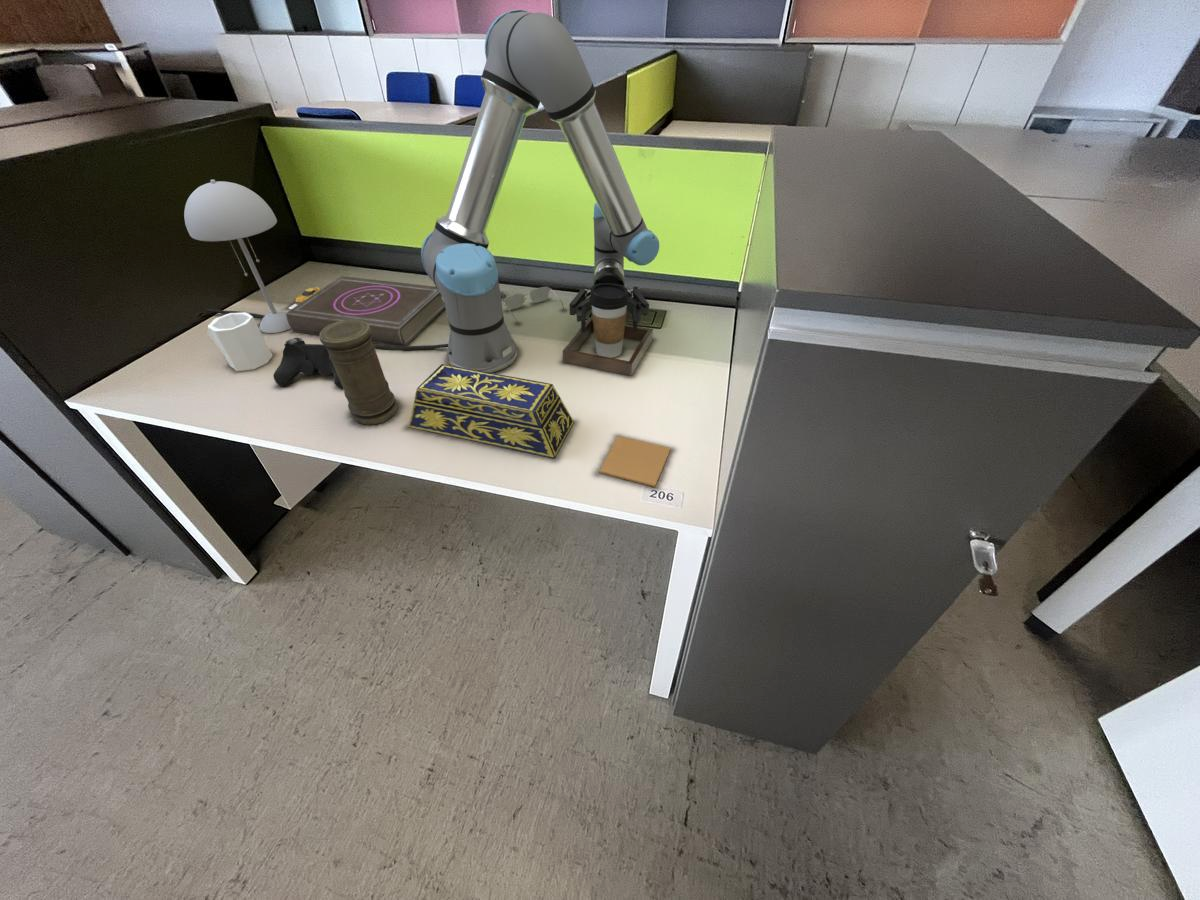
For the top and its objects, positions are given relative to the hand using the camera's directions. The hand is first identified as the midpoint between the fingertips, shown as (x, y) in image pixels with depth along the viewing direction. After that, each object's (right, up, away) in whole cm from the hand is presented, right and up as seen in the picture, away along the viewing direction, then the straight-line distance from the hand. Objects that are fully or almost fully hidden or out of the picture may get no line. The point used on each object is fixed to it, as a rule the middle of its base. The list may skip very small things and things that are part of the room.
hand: (609, 326), depth 110 cm
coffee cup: (0, -4, +9) cm, 10 cm away
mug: (-83, -6, +8) cm, 83 cm away
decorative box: (-23, -22, -11) cm, 33 cm away
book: (-59, +7, +21) cm, 64 cm away
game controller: (-62, -11, +2) cm, 63 cm away
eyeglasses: (-19, +9, +24) cm, 32 cm away
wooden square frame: (0, -4, +9) cm, 9 cm away
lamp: (-82, +5, +20) cm, 85 cm away
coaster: (+4, -28, -19) cm, 34 cm away
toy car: (-80, +13, +29) cm, 86 cm away
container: (-47, -19, -7) cm, 51 cm away
